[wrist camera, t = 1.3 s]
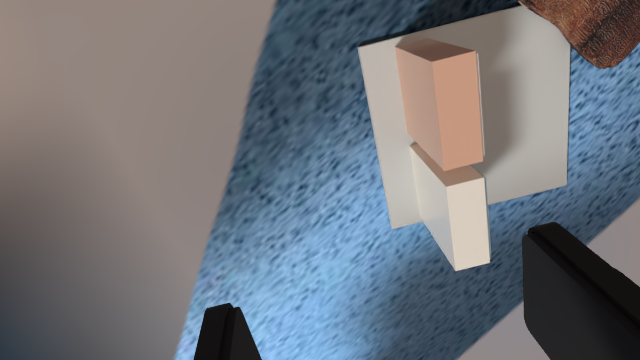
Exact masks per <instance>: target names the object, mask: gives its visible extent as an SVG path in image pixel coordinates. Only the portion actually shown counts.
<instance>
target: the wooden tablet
mask: <svg viewBox="0 0 640 360" xmlns="http://www.w3.org/2000/svg"><path fill="white" fill-rule="evenodd" d="M517 1H518V2H519V3H520V4H521V5H522V6H524V7H525V8H527V9H529V10H530V11H532V12H534V13H535V14H537V15H538V16H540V17H542V18H544V19H546V20H548V21H550V22H551V23H552V24H553V25H555V26H556V27H557V28H558V29H559V30H560V32H561V33H562V34H563V36H564V37H565V39H566V40H567V41H568V43H569V44H570V45H571V46H572V48H573V49H575V50H576V51H577V53H579V54H580V55H581V56H582V57H583V58H584V59H586V61H588V62H589V63H591V64H593V65H595V66H596V67H597V68H603V69H606V68H607V67H609V68H612V67H615V66H616V65H618V64H619V63H620V62H622V61H623V59H624V58H626V57H627V56H628V55H629V54H630V52H631V51H632V50H633V49H634V48H635V47H636V46H637V44H638V43H639V42H640V0H517Z"/></svg>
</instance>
